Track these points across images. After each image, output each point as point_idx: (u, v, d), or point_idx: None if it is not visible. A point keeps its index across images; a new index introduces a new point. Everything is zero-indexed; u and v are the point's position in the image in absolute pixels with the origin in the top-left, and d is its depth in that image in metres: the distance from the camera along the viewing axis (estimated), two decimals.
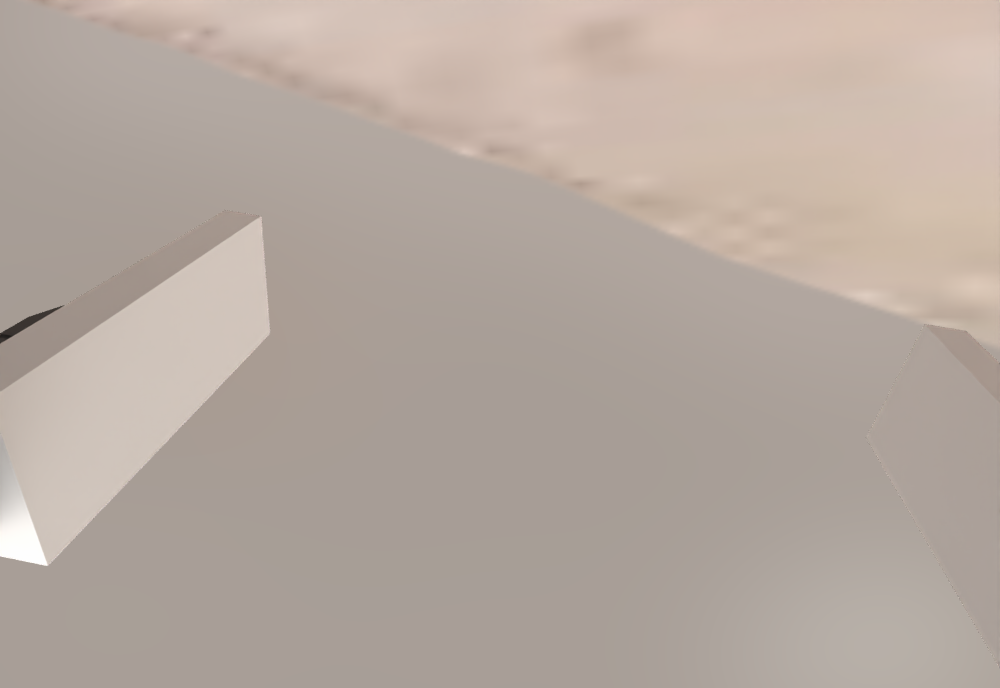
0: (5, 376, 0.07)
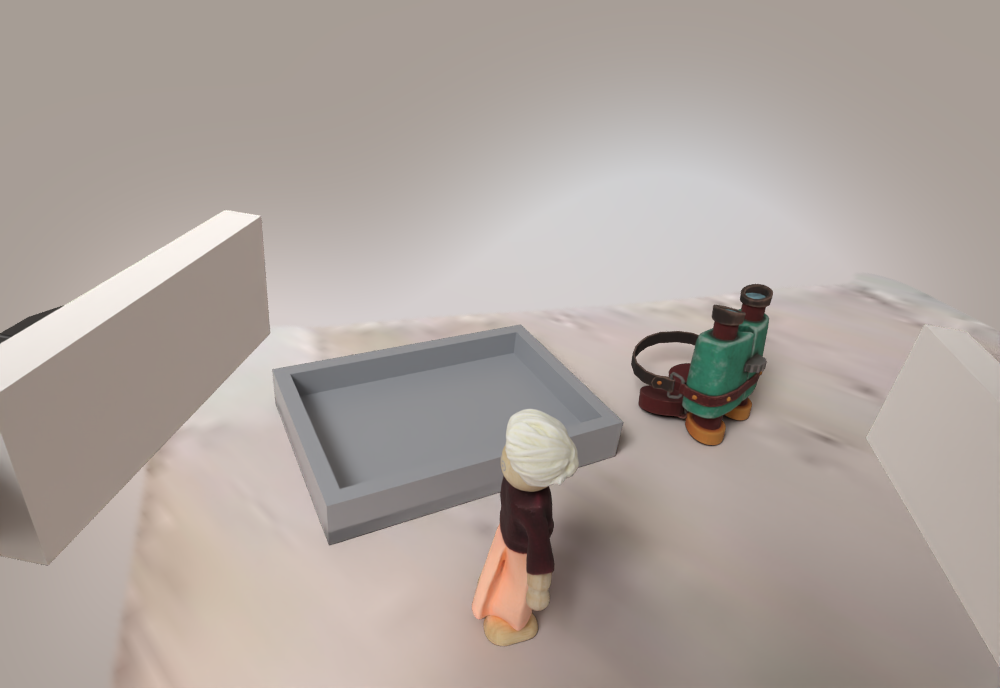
0: (5, 376, 0.07)
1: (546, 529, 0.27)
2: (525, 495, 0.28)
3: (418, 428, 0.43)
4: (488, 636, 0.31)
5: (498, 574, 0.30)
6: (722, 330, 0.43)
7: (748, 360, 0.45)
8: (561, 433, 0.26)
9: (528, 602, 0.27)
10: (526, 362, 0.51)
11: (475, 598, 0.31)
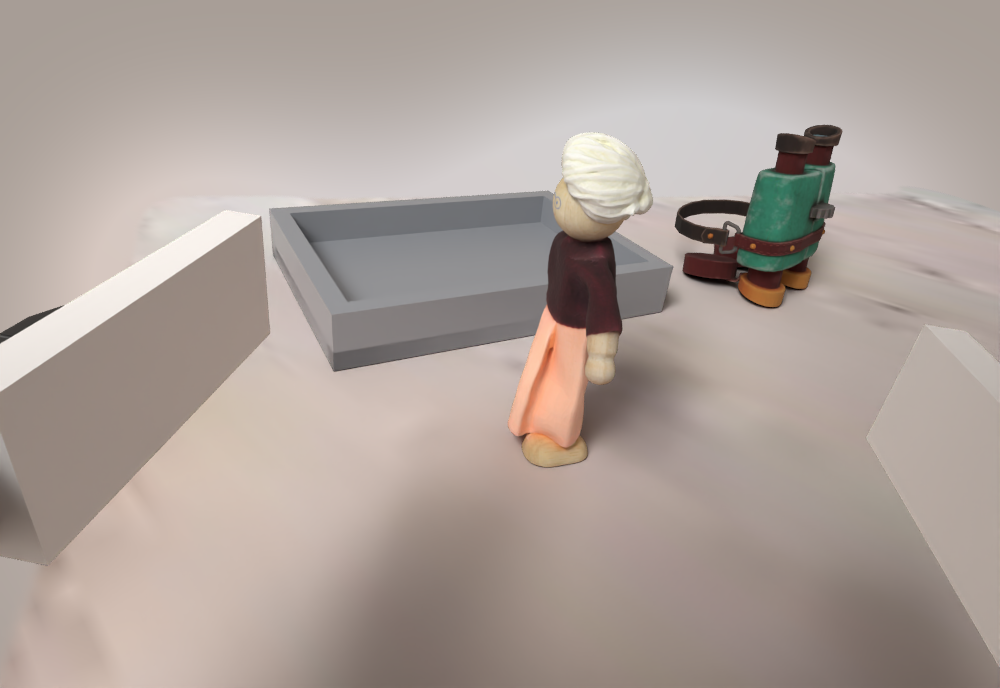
0: (5, 375, 0.07)
1: (612, 281, 0.21)
2: (583, 247, 0.22)
3: (436, 274, 0.38)
4: (528, 456, 0.26)
5: (543, 373, 0.25)
6: (788, 162, 0.37)
7: (814, 205, 0.39)
8: (633, 154, 0.21)
9: (589, 372, 0.21)
10: (555, 228, 0.46)
11: (513, 408, 0.26)
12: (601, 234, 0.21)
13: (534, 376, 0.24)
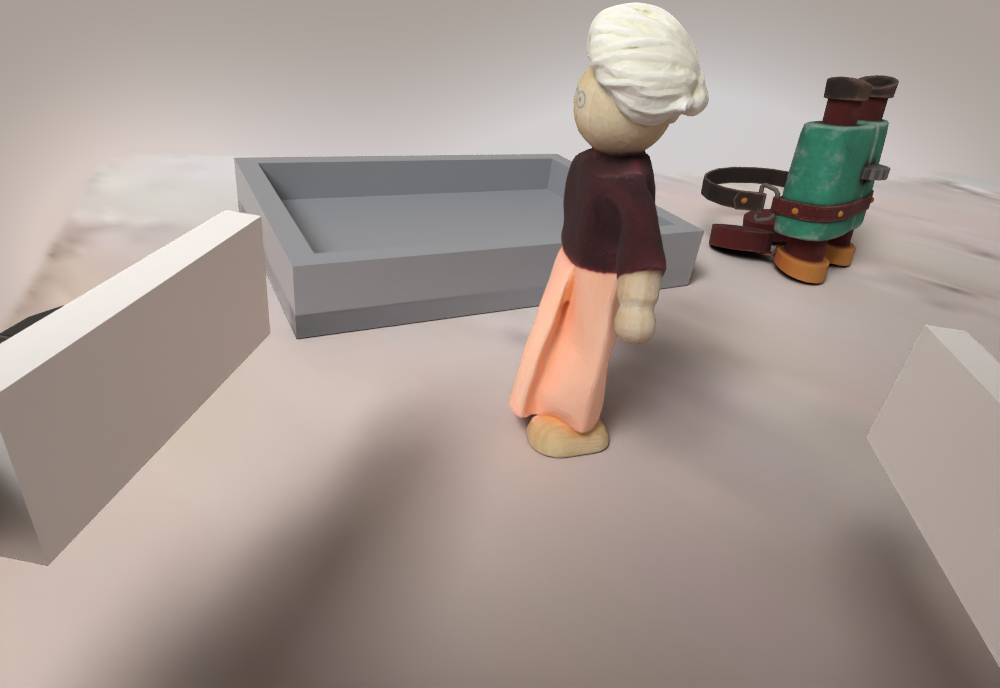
0: (5, 375, 0.07)
1: (653, 203, 0.16)
2: (613, 164, 0.17)
3: (427, 235, 0.32)
4: (534, 444, 0.20)
5: (555, 337, 0.19)
6: (839, 111, 0.32)
7: (866, 166, 0.34)
8: (685, 31, 0.15)
9: (620, 326, 0.16)
10: None
11: (516, 382, 0.20)
12: (638, 142, 0.16)
13: (544, 339, 0.19)
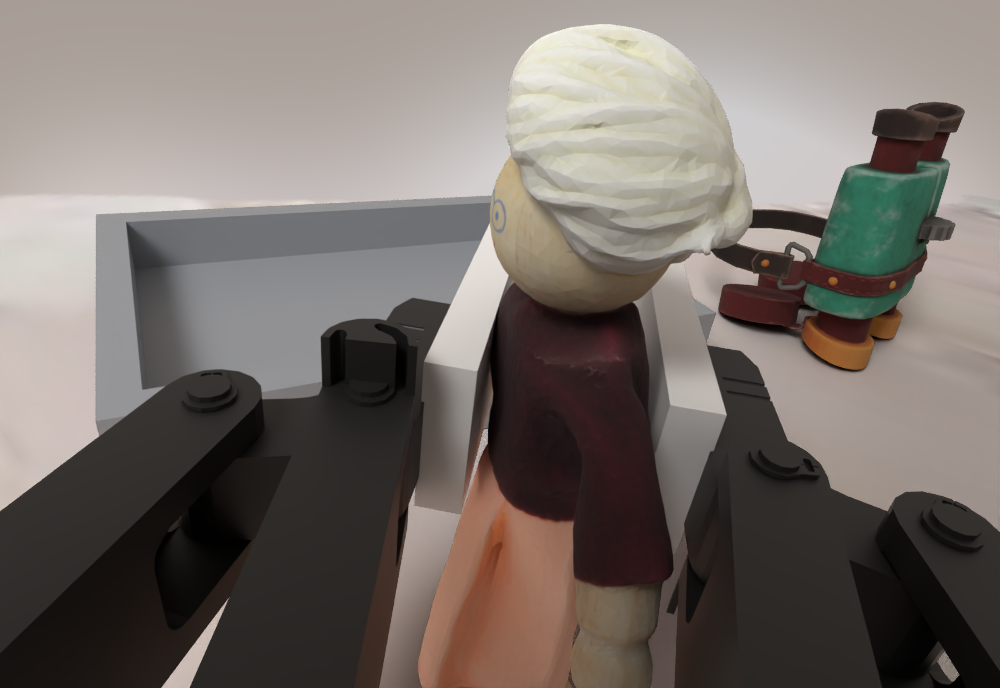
0: (471, 353, 0.09)
1: (645, 429, 0.08)
2: (567, 330, 0.09)
3: (349, 319, 0.24)
4: None
5: (483, 583, 0.11)
6: (895, 153, 0.24)
7: (923, 221, 0.26)
8: (706, 82, 0.07)
9: (581, 683, 0.08)
10: None
11: (424, 645, 0.12)
12: (614, 300, 0.08)
13: (461, 600, 0.11)
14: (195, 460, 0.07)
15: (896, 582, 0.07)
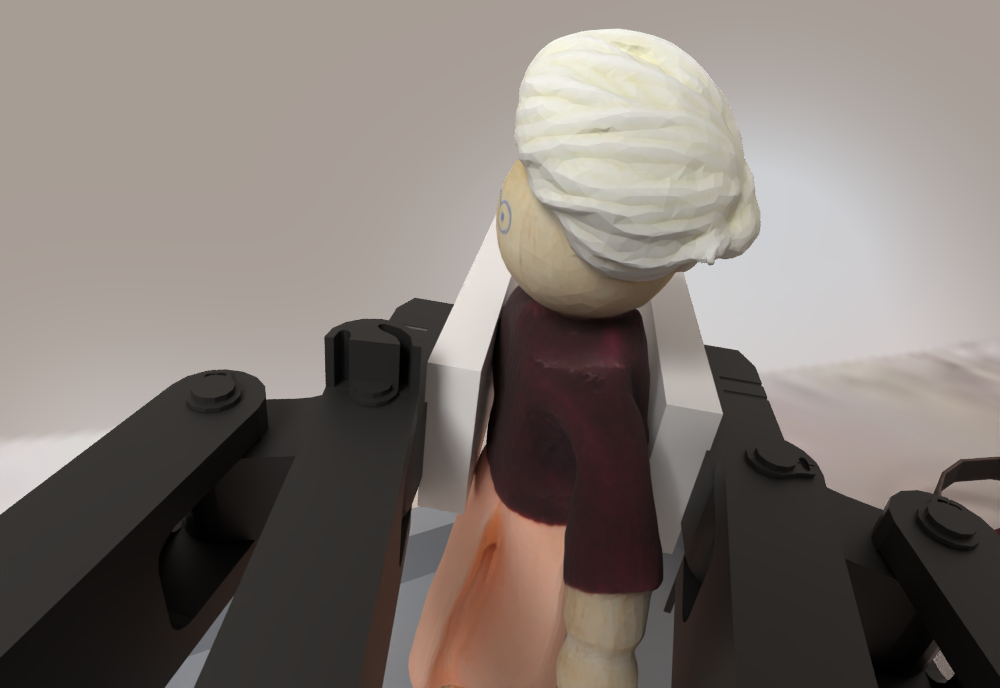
0: (475, 353, 0.09)
1: (641, 437, 0.08)
2: (570, 334, 0.09)
3: None
4: None
5: (476, 583, 0.11)
6: None
7: None
8: (718, 91, 0.07)
9: None
10: None
11: (415, 641, 0.12)
12: (617, 306, 0.08)
13: (453, 598, 0.11)
14: (199, 461, 0.07)
15: (892, 580, 0.07)
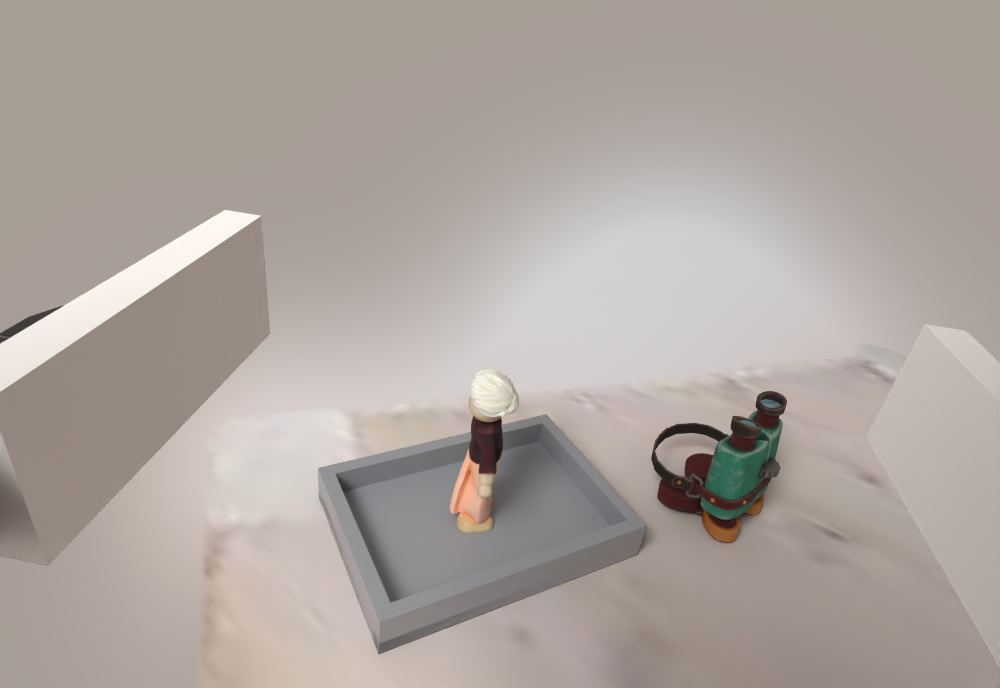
0: (5, 376, 0.07)
1: (493, 446, 0.41)
2: (483, 425, 0.42)
3: (454, 527, 0.46)
4: (458, 526, 0.46)
5: (467, 482, 0.45)
6: (740, 441, 0.46)
7: (763, 465, 0.48)
8: (507, 384, 0.41)
9: (477, 492, 0.41)
10: (552, 453, 0.54)
11: (451, 498, 0.46)
12: (490, 421, 0.42)
13: (460, 484, 0.45)
14: None
15: None
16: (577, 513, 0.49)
